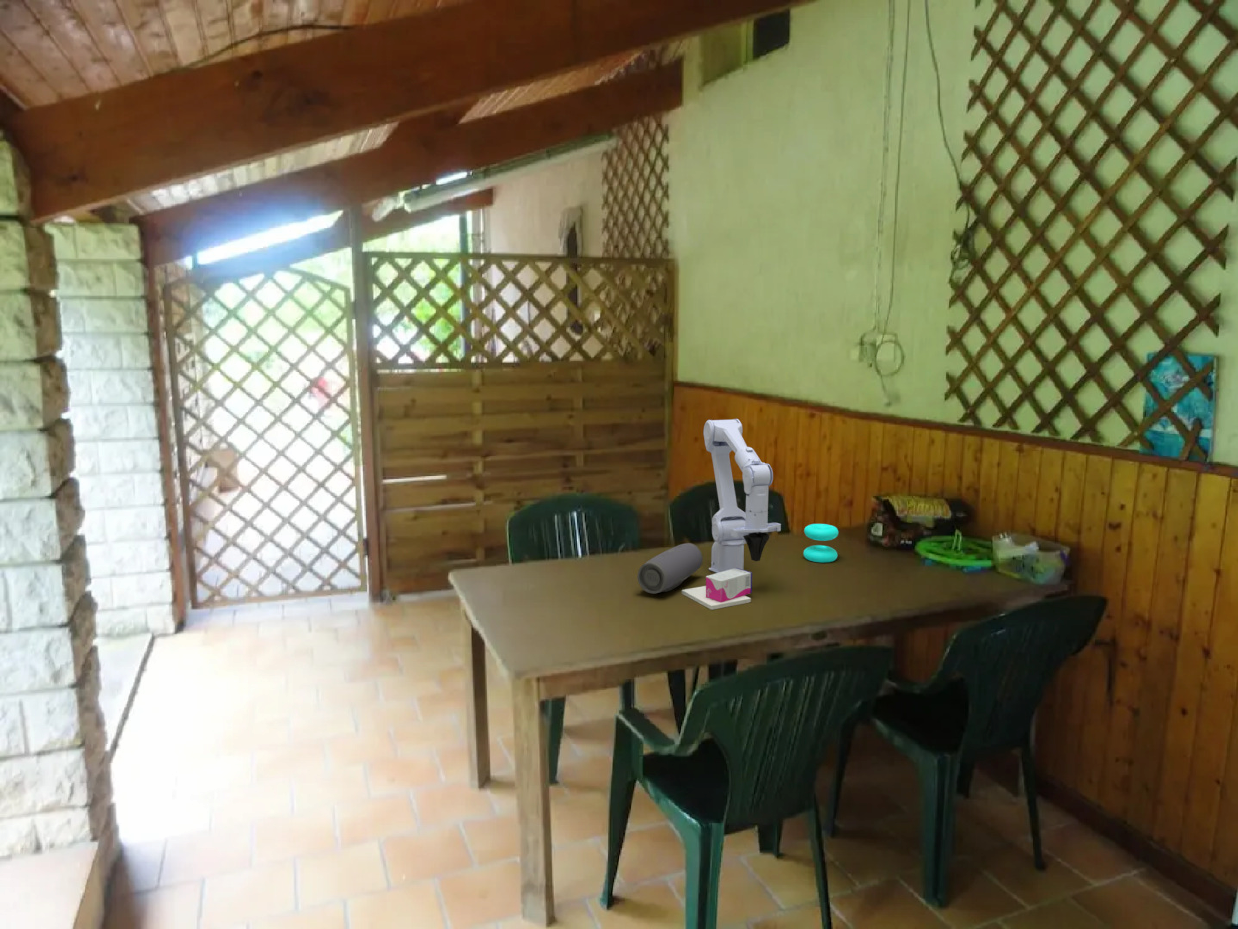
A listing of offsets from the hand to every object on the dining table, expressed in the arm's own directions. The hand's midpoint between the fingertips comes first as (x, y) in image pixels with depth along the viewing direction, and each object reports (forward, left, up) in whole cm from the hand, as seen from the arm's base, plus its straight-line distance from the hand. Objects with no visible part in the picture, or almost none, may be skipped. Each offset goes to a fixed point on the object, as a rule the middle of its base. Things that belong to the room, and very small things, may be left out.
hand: (755, 560), depth 218 cm
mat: (0, -13, -8) cm, 15 cm away
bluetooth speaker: (-14, -18, -9) cm, 24 cm away
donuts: (-15, +35, -9) cm, 39 cm away
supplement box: (+1, -4, -5) cm, 6 cm away
